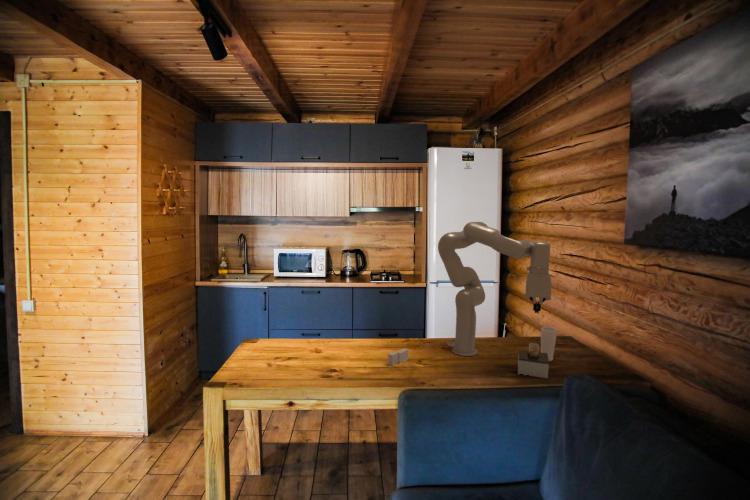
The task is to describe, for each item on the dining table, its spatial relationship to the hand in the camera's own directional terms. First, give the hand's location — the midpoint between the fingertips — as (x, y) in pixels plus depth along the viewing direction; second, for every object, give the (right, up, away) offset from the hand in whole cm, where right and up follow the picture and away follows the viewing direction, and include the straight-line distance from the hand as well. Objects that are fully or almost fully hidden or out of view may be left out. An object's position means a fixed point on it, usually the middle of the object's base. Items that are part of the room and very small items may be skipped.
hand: (536, 312), depth 182 cm
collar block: (-1, -26, +3) cm, 27 cm away
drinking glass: (+12, -25, +18) cm, 33 cm away
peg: (-1, -20, +2) cm, 20 cm away
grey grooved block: (-60, -25, +10) cm, 66 cm away
